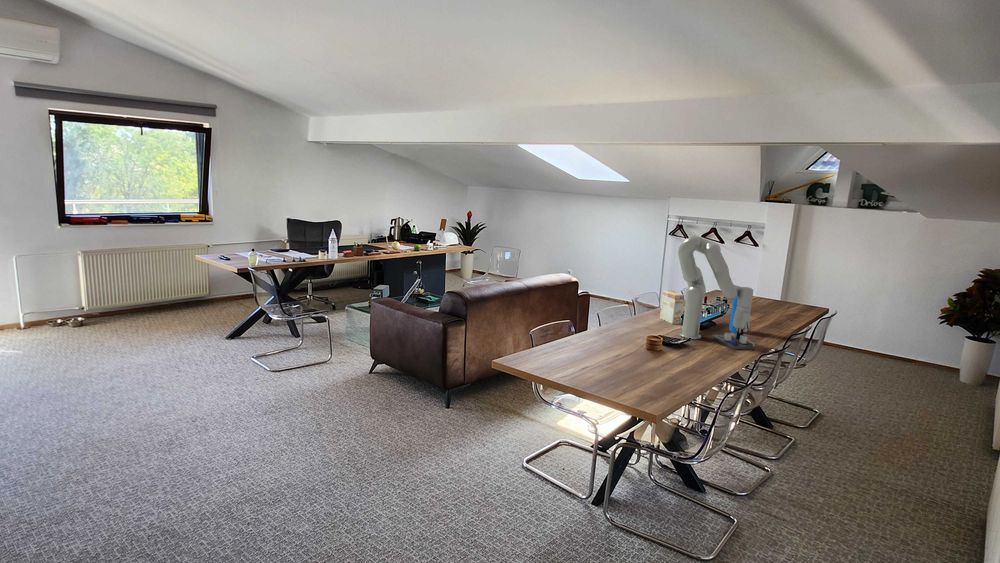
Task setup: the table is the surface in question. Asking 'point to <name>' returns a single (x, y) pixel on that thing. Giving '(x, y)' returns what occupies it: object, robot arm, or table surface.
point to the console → (733, 342)
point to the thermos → (734, 306)
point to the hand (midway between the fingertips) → (739, 339)
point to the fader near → (727, 336)
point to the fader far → (743, 339)
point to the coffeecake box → (671, 306)
